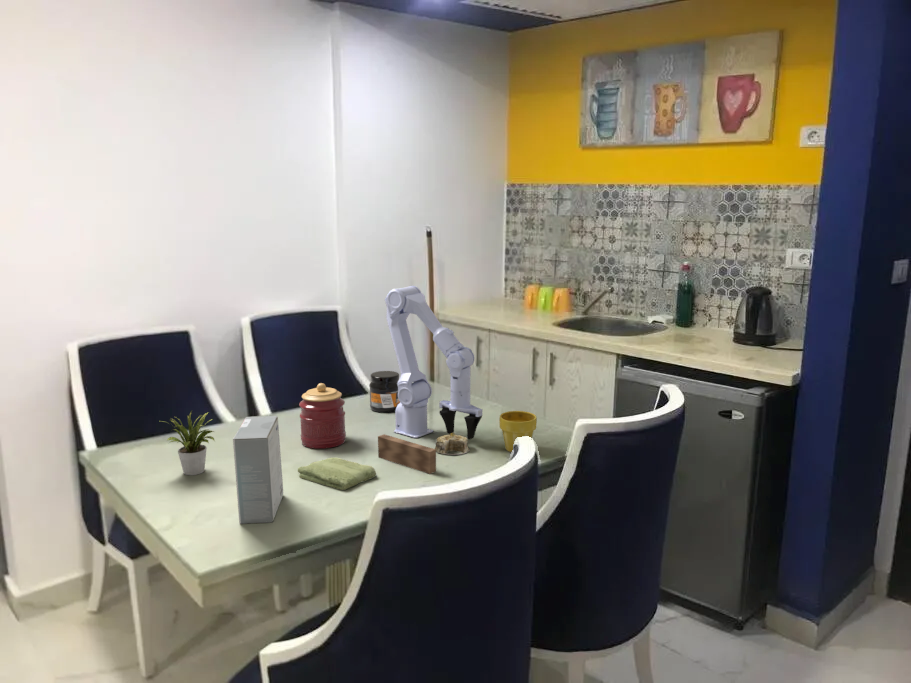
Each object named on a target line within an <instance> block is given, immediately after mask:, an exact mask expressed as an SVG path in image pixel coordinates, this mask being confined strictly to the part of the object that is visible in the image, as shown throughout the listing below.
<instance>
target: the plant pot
mask: <svg viewBox="0 0 911 683" xmlns="http://www.w3.org/2000/svg"><path fill="white" fill-rule="evenodd" d="M537 420H538V417H537V414H534V413H532V412H528V411H526V410H525V411H523V410H510V411H505V412H503V413H501V414H500V415H499V422H498V423H499V429H500V430H501V432H502V437H503V442H504V445H505V446H504V447H505V450H506V451H507V452H509V453H513V452H512V450H513V444H514V441H515V439H516V438H517V437H522V436H529V437H531V438H533V436H534V432H535V430H536V429H537V422H538V421H537Z"/></svg>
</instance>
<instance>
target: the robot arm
mask: <svg viewBox="0 0 911 683" xmlns="http://www.w3.org/2000/svg"><path fill="white" fill-rule="evenodd" d="M384 301H385V304H386V315H385V316H386V317H385V318H386V322H387V327H388V330H389V333H390V337H391V340H392V344H393V349H394V352H395V356H396V360H397V364H398V368H399V371H400V376H399V381H398V383H397V385H398V399H399V401H400V403H399V404H398V405H397V407H396V411H394V412H395V413H394V414H395V416H394V417H395V429H394V430H393V433H396V434H400V435H404V436H407V437H411V438H414V439H418V438H420V437H423V436H426V435H428V434H431V433H434V429H430V428H428V403H429V399H430V397H432V393H433V388H432V386H431V384H430V382H428V379H427V377H426V374H424V372H422V371H421V370H420V369H419V365H418V361H417V358H416V353H415V351H414V350H415V349H414V346H413V343H412V338H411V334H410V330H409V326H408V324H407V318H408V317H409V316H410V314H411V315H416V317H417V318H418V319H420V322H422V323H423V324H424V326H425V327H427V329H428V330H429V331H430V333H432V335H433V336H432V341H433V342H434V343H435V345H436V346H437V348H438V349H439V350H440V351H441V353H442V354H443V355H444V356H445V358H446V360H445V363H446V366H447V368H448V369H449V375H450V400H444V399H443V400H440V401H439V406H438V408H439V409H441V410H439V412H438V413H439V415H440V417H441V418H442V420H443V422H444V426H445V429H446V434H447V435H451V433H453V434H454V433H455V419H456V418H455V417H456V413H457V412H459V413H464V414H468V415H466V416H464V417H463V418H464V421H465V424H466V436H467V437H466V438H467V440H472V439H474V438H475V435H476V430H477V428H478V426H479V423H480V421H481V419H482V418H483V408H479V407H477V406H475V405H473V404H471V377H472V376H471V370H472V369H471V366H472V365H473V364H474V362H475V354H474V352H473V351H472V349H471V348H469V347H467V346H465V345H464V344H462V343H461V342H460V341H459V339H458V338H457V337H456V336H455V332H454V330H452V329H450V328H449V327H445V326H443V325H442V324H441V322H440V321H439V319H438V317H437V316H436V314H435V313H434V311H432V309H431V308H430V306H429V304H428V303H427V302H426V296H425V294H424V293H422V291H421V289H420V288H419V287H418V286H416V285H409V286H405V287H399V288H392V289H390V290H389V292H388V293H387V294H386V297H385V298H384Z"/></svg>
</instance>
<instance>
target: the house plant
mask: <svg viewBox="0 0 911 683" xmlns="http://www.w3.org/2000/svg"><path fill="white" fill-rule="evenodd" d="M192 412H193V410H190V412H189V415H187V423H188V429H187V428H186V427H185V426H184V424H183V422H182V421H181V419H180V418H179V417H177V416H175V418H176V419H177V420H178V421H179V422H177V421H176V419H173V418H171V419H170V422H172V423H173V424H174V425H175V426H173V428H175V429H172V430H173V431H175V432H176V433H177V434H178V435H179V436H180V438H181V440H180V438H177V437H175V436H170V437H168V438H167V439H166V441H169V443H173V442H176V443H177V444H178V443H181V444H182V445H183V446H181V447H179V448H178V449H177V454H178V457H179V461H180V465H181V467H182V472H183V475H187V476H196V475H200V474H203V472H205V471H206V470H205V469H206V467H205V466H206V458H207V449H208V447H207V446H206V445H205V444H202V443H207V444H210V443H209V439H210V440H212V441H214V442H216V441H215V438H214V436H211V435H209V436H208V434H211V433H215V431H214V430H211V429H210V428H207V429H203V427H205V424H203V423H204V422H205V419H206V416H207V415H208V413H209V411H208V412H206V413H204V414H203V415H202V414H200V415H199V416H198V417H197V418H196V419H195V420H194V422H192V419H191V418H192ZM199 418H200V419H199ZM198 419H199V420H198ZM212 420H213V418H212V419H209V420H208V421H207V423H209V422H211V421H212ZM197 421H198V422H197ZM160 422H163V423H167V424H169V422H168V421H163V420H160ZM196 422H197V423H196ZM179 423H180V424H181V425H180V424H179ZM195 424H196V425H195ZM176 428H177V429H176ZM202 429H203V430H202Z"/></svg>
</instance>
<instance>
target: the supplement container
mask: <svg viewBox="0 0 911 683" xmlns="http://www.w3.org/2000/svg"><path fill="white" fill-rule="evenodd" d="M399 379H400V373H399V372H397V371H393V370H379V371H375V372H372V373H370V382H369V384H368V387H369V407H370V410H371V411H373V412H375V413H393V412H395V411H396V407H397V405H398V404H399V403H400V401H399V399H398V385H397V383H398V381H399Z"/></svg>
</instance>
